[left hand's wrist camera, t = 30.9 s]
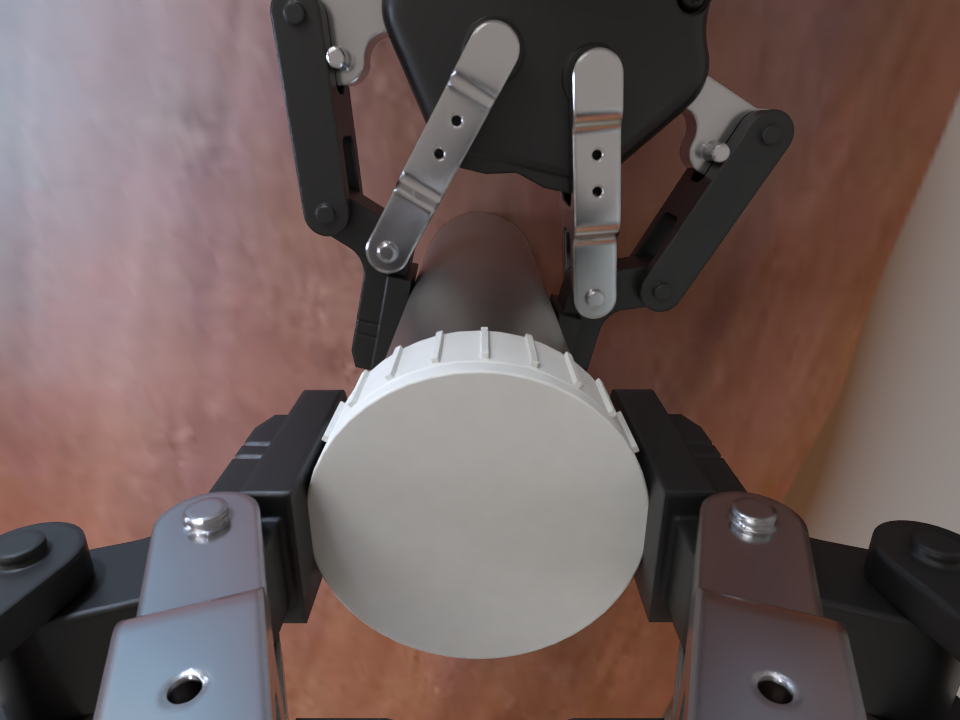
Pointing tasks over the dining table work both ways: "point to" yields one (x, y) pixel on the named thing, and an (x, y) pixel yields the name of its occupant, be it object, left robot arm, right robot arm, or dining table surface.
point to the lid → (478, 497)
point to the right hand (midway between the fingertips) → (461, 394)
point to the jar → (479, 285)
